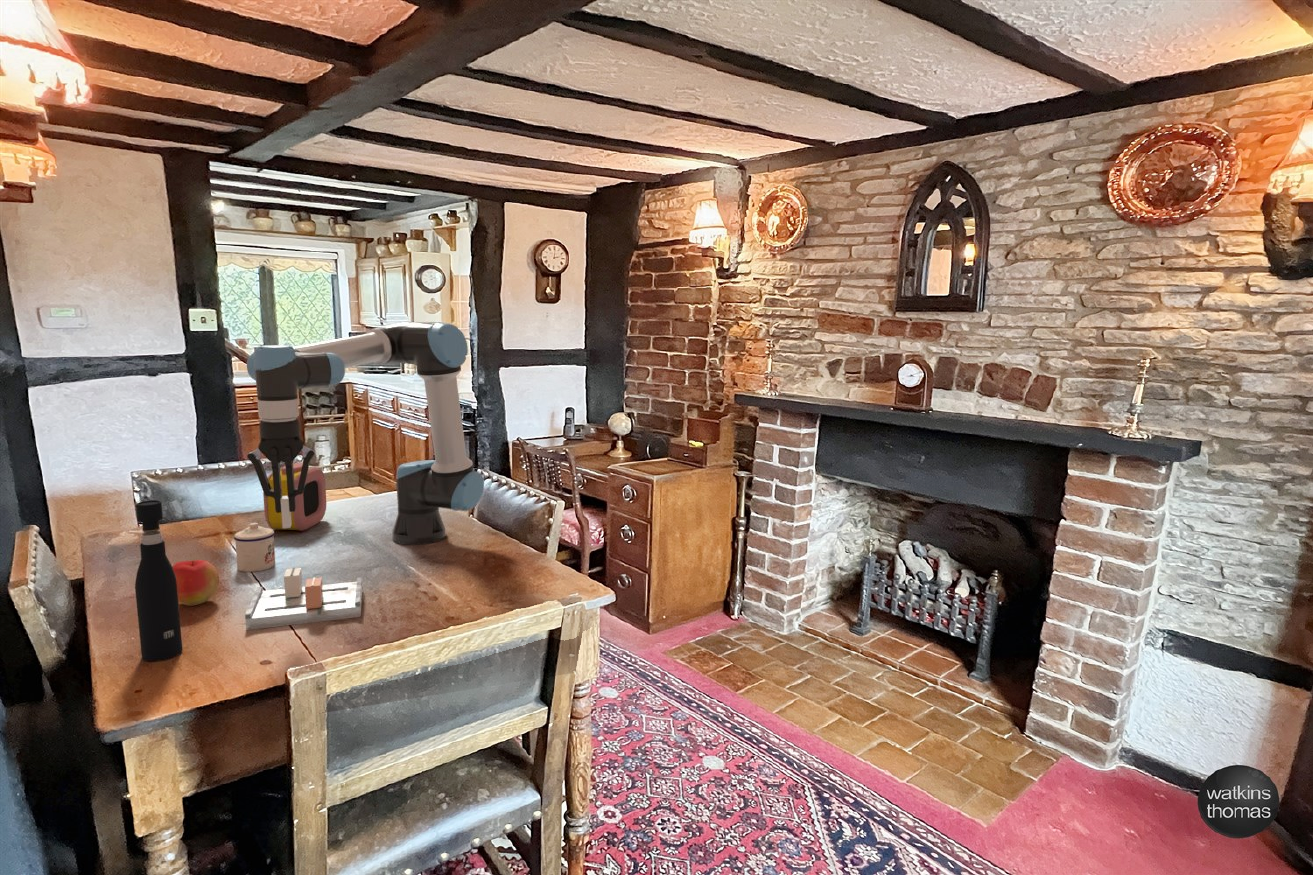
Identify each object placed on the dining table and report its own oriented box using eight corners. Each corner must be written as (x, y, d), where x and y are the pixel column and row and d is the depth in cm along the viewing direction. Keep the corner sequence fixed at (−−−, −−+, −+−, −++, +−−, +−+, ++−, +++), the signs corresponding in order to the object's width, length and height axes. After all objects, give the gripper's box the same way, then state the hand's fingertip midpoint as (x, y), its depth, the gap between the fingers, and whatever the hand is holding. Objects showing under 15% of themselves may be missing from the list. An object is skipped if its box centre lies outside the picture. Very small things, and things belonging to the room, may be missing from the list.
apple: (182, 615, 152) (178, 571, 150) (161, 605, 157) (157, 562, 155) (228, 601, 160) (225, 559, 158) (207, 592, 165) (204, 551, 163)
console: (362, 587, 170) (361, 574, 170) (360, 620, 151) (359, 605, 151) (259, 597, 162) (259, 583, 162) (244, 634, 143) (243, 618, 143)
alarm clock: (299, 535, 209) (296, 472, 206) (263, 534, 209) (258, 471, 206) (329, 518, 227) (326, 460, 224) (295, 517, 227) (292, 459, 224)
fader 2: (323, 598, 156) (321, 576, 155) (321, 607, 152) (320, 584, 151) (308, 600, 155) (306, 577, 154) (305, 608, 151) (304, 586, 150)
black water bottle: (155, 646, 137) (141, 498, 132) (189, 646, 138) (177, 498, 133) (134, 662, 131) (118, 507, 126) (170, 661, 131) (156, 507, 127)
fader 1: (302, 588, 162) (301, 566, 161) (300, 596, 157) (298, 574, 156) (287, 589, 161) (286, 568, 160) (285, 597, 156) (283, 575, 155)
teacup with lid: (273, 570, 180) (271, 526, 178) (233, 574, 176) (229, 529, 174) (279, 555, 191) (277, 514, 189) (241, 559, 187) (238, 517, 185)
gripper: (314, 415, 153) (321, 518, 158) (246, 417, 149) (255, 524, 153) (312, 420, 147) (319, 528, 151) (240, 422, 142) (250, 534, 146)
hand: (287, 526), depth 152 cm, fingers closed
